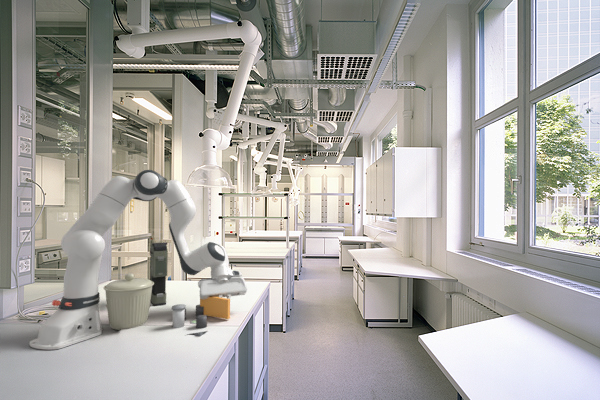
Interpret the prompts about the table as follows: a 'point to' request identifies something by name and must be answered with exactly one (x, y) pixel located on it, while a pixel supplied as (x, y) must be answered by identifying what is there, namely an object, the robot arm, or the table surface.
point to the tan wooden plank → (214, 307)
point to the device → (158, 273)
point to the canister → (128, 301)
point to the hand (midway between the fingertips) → (225, 305)
